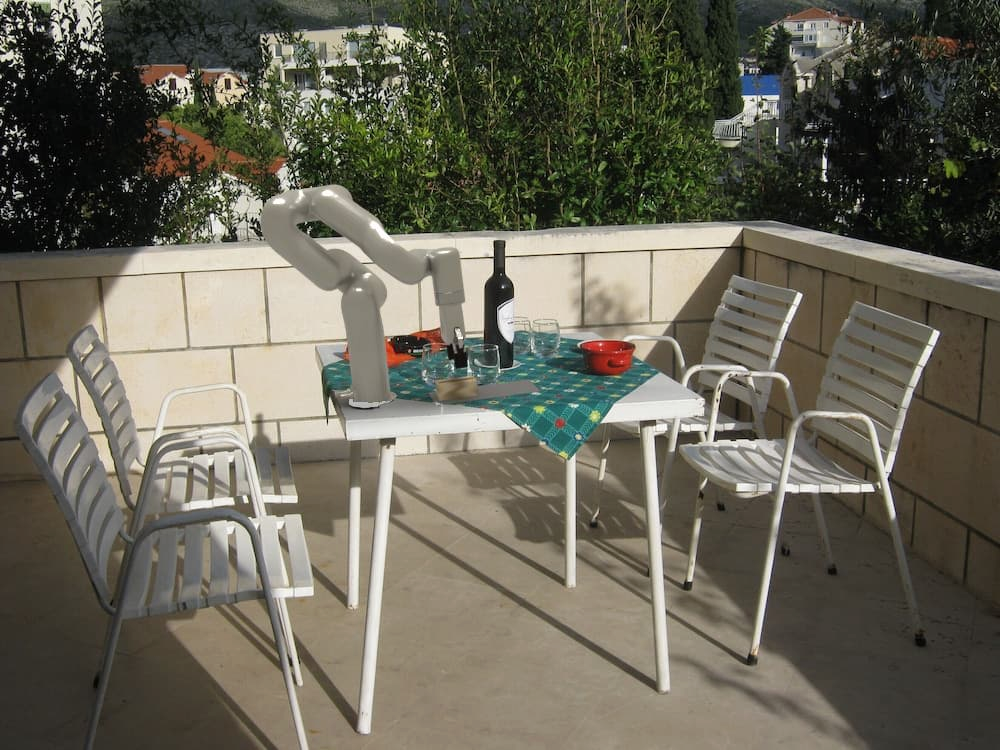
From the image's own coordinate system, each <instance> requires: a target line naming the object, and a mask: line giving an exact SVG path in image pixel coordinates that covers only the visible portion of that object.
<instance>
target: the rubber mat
mask: <svg viewBox="0 0 1000 750" xmlns="http://www.w3.org/2000/svg"><path fill="white" fill-rule="evenodd" d="M477 386H478V396H471V397H464V398H457V399H449V400H442V401H439V399H438V397H437V396H436V391H431V392H428V394H429V396H430V398H431V399H432V401H433V403H434V402H435V401H436V402H438V403H440V404H441V403H442V404H444V405H451V404H459V403H464V402H472V401H479V400H486V399H494V398H502V397H510V396H514V395H515V396H516V395H523V394H531V393H532V394H533V393H539V394H542V393H541V390H540V389H539V388H538V387H537V386H536V385H535V384H534V383H533V382H532V381H531V380H530V379H529V378H528V379H520V380H513V381H506V382H499V383H491V384H485V385H483V384H482V385H477Z"/></svg>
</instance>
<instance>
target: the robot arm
mask: <svg viewBox="0 0 1000 750" xmlns="http://www.w3.org/2000/svg"><path fill="white" fill-rule="evenodd" d="M259 219H260V221H259V222H260V231H261V233H262V236H263V238H264V240H265V242H266V244H267V245H268V246H269V248H270V249H272V250H273V251H274V252H275V253H276V254H277V255H279V256H280V257H281V258H282V259H284V260H285V261H286V262H288V263H289V264H290V266H292V267H293V268H294V269H295V270H296V271H298V272H299V273H300V274H302V275H303V276H304V277H305V278H306V279H307V280H308V281H310V283H311V282H312V284H314V285H315V286H316V287H317V288H318V289H321V290H322V291H325V292H333V291H336V290H338V291H339V292H340V293H342V295H341V298H340V299H341V300H340V309H341V314H342V318H343V322H344V328H345V335H346V343H347V350H348V351H347V352H348V359H349V368H350V369H349V370H350V378H351V384H350V385H349V387H347V388H346V389H344V390H342V389H341V390H334V396H335V399H340V400H346V399H349V398H350V399H353V402H368V403H373V402H379V403H380V402H382V401H386V402H387V401H391V400H394V399H395V400H397V398H398V395H397V393H396V392H394V391H391V386H390V376H389V375H390V374H389V368H388V357H387V350H386V347H387V346H386V339H385V331H384V326H383V325H384V324H383V319H382V316H381V315H382V314H381V308H382V307H383V305H384V304H386V301H387V297H388V289H387V287H386V284H385V283H384V281H383V280H382V279H381V277H379V276H378V275H377V274H376V273H374V272H373V271H372V270H370V268H368V267H367V266H366V265H365V264H364V263H362V262H361V261H359V259H357V258H356V257H355V256H353V254H351V253H349V252H348V251H346V250H344V249H341V248H329V249H326V248H325V247H323V246H322V245H321V244H320V243H318V242H317V241H316V240H315V239H314V238H313V237H311V236H310V235H308V234H307V233H305V232H303V231H301V230H300V229H299V227H298V226H297V225H298V224H301V223H302V224H303V223H308V222H316V221H320V222H323V223H324V224H325V225H327V226H328V227H329V228H331V229H332V230H334V231H335V232H336V233H338V234H340V235H341V236H342V237H344V238H346V239H347V240H348V241H350V242H351V243H352V244H353V245H355V246H356V247H358V248H359V249H360V250H361V252H362V253H363V254H364V255H365V256H367V257H368V258H369V260H371V261H372V263H374V264H375V265H376V266H377V267H378V268H380V269H381V270H382V271H384V272H385V273H386V274H388V275H389V276H391V277H392V278H393V279H395V280H397V281H398V282H400V283H402V284H404V285H409V286H414V285H418V284H420V283H421V282H423V280H424V279H425V278H428V277H431V280H432V286H433V287H432V289H433V294H434V302H435V303H434V304H435V306H436V307H438V312H439V313H438V314H439V323H440V325H439V326H440V336H441V339H442V341H443V342H444V343H445V344H446V353H447V359H448V360H449V361H453V362H454V368H455V370H456V369H457V370H458V369H459V370H460V369H463V368H464V369H466V368H468V367H469V363H468V355H467V350H466V345H465V342H466V341H467V335H466V334H467V333H466V327H465V325H466V324H465V319H464V311H463V305H462V304H465V303H466V295H465V287H464V279H463V269H462V263H461V255H460V251H459V249H458V248H456V247H452V246H450V247H449V246H448V247H439V248H434V249H433V248H432V249H429V248H414V249H410V250H407V249H405V248H404V247H403V246H401V245H400V244H399V243H398V242H396V241H395V240H394V239H393V238H392V237H391V236H390V235H388V233H387V232H386V230H385V229H384V226H383V223H382V222H381V221H380V220H379V218H378V217H377V216H375V215H374V214H372V213H371V212H369V211H368V210H367V209H365V208H363V207H362V206H360V205H359V204H358V203H357V202H355V201H353V197H352V194H351V192H350V191H349V190H348V189H347V188H345V187H344V186H342V185H340V184H328V185H327V184H326V185H323V186H317V187H316V186H315V187H308V188H298V189H292V190H287V191H284V192H282V193H279V194H276V195H274V196H272V197H270V199H268V200H267V201H266V202H265V204H264V206H263V207H262V210H261V213H260V218H259ZM396 397H397V398H396ZM395 400H394V401H395Z"/></svg>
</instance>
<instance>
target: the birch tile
mask: <svg viewBox="0 0 1000 750" xmlns="http://www.w3.org/2000/svg"><path fill="white" fill-rule="evenodd" d="M434 382H435V383H434V385H435V386H434V387H435V392H436V396H437V397H438V399H439V401H442V400H449V399H457V398H464V397H471V396H478V386H479V385H478V380H477V378H475V376H474V375H468V376H466V375H465V376H460V377H454V378H453V377H452V378H445V379H437V380H436V379H435V380H434Z"/></svg>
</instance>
